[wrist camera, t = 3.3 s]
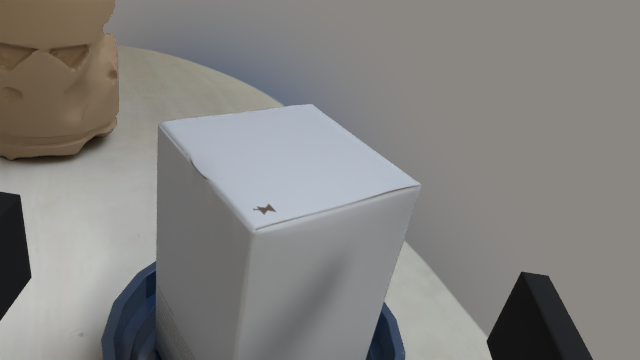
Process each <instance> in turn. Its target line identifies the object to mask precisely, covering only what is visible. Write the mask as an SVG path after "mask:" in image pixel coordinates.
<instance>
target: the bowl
mask: <svg viewBox="0 0 640 360" xmlns="http://www.w3.org/2000/svg"><path fill="white" fill-rule="evenodd" d="M155 328H156V261H155V262H154V263H152V264H151V265H149V266H148V267H146V268H145V269H143V270H142V271H140V272H139V273H138V274H137V275H136V276H135V277H134V278H133V279H132V281H131V282H130V283H129V284H128V286H127V287H126V288H125V289H124V290H123V292H122V293H121V294H120V295H119V296H118V298H117V299H116V300H115V301H114V303H113V306H112V309H111V312H110V315H109V318H108V321H107V324H106V327H105V330H104V333H103V336H102V339H101V346H102V360H162V359H161V357H160V355H159V353H158V351H157V349H156V347H155ZM366 360H405V350H404V346H403V343H402V339H401V335H400V332H399V328H398V325H397V321H396V319H395V317H394V316H393V314H392V313H391V311H390V310H389V308H388V307H387V305H386V304H385V302H384V303H383V306H382V309H381V312H380V315H379V318H378V322H377V325H376V328H375V331H374V334H373V337H372V341H371V344H370V347H369V350H368V353H367V356H366Z"/></svg>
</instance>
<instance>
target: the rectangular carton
mask: <svg viewBox="0 0 640 360" xmlns="http://www.w3.org/2000/svg"><path fill="white" fill-rule="evenodd" d="M420 189H421V184H420V183H418V182H417V181H415V180H414V179H412V178H411V177H410V176H408V175H407V174H405V173H404V172H403V171H401V170H400V169H399V168H397V167H396V166H395V165H393V164H392V163H391V162H389V161H388V160H386V159H385V158H384V157H382V156H381V155H380V154H378V153H377V152H375V151H374V150H373V149H371V148H370V147H368V146H367V145H366V144H365V143H363V142H362V141H360V140H359V139H358V138H356V137H355V136H354V135H352V134H351V133H350V132H348V131H347V130H345V129H344V128H343V127H341V126H340V125H339V124H337V123H336V122H335V121H333V120H332V119H331V118H329V117H328V116H327V115H325V114H324V113H323V112H321V111H320V110H319V109H317V108H316V107H315V106H314V105H312V104H308V105H294V106H287V107H279V108H273V109H266V110H258V111H250V112H242V113H233V114H223V115H213V116H203V117H194V118H185V119H178V120H171V121H164V122H162V123H160V124H159V125H158V157H157V250H156V328H155V347H156V349H157V351H158V353H159V355H160V357H161V359H162V360H366V356H367V353H368V350H369V347H370V344H371V341H372V337H373V334H374V331H375V328H376V325H377V322H378V318H379V315H380V312H381V309H382V306H383V303H384V300H385V297H386V293H387V290H388V287H389V284H390V281H391V278H392V275H393V272H394V269H395V265H396V262H397V259H398V256H399V253H400V250H401V247H402V244H403V241H404V238H405V235H406V232H407V229H408V225H409V222H410V219H411V216H412V213H413V210H414V207H415V204H416V201H417V198H418V195H419V192H420Z"/></svg>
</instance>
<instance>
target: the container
mask: <svg viewBox="0 0 640 360" xmlns="http://www.w3.org/2000/svg"><path fill="white" fill-rule="evenodd" d="M114 8H115V0H0V156H5V157H6V158H7V159H9V160H14V159H15V158H17V157H35V156H44V155H74V154H77V153H78V152H79V151H80V150H81V149H82V146H83V145H84V144H85V143H86V142H87V141H88V140H89V139H91V138H92V137H93V136H98V137H105V136H107V135H108V134H110V133H111V132H112V130H113V129H114V127H115V126H116V124H117V120H116V115H117V113H118V112H119V80H118V54H117V47H116V42H115V37H114V36H113V35H111V34H108V33H106V34H104V32H103V29H102V28H103V26H104V24H106V23H107V22H108V20H109V19H110V17H111V15H112V13H113V11H114Z"/></svg>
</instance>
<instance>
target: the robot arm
mask: <svg viewBox="0 0 640 360" xmlns="http://www.w3.org/2000/svg"><path fill="white" fill-rule="evenodd" d="M30 279H31V270H30V263H29V255H28V248H27V241H26V234H25V227H24V219H23V212H22V205H21V198H20V195H17V194H11V193H4V192H0V320H1V319H2V318H3V316H4V315H5V314H6V312H7V311H8V309H9V308H10V307H11V305H12V304H13V302H14V301H15V300H16V298H17V297H18V295H19V294H20V293H21V291H22V290H23V288H24V287H25V286H26V284H27V283H28V282H29V280H30ZM486 342H487V345H488V348H489V351H490V354H491V357H492V360H593V359H592V357H591V355H590V353H589V351H588V349H587V348H586V346H585V344H584V342H583V340H582V338H581V336H580V334H579V332H578V330H577V329H576V327H575V325H574V323H573V321H572V319H571V317H570V316H569V314H568V312H567V310H566V308H565V306H564V304H563V302H562V300H561V299H560V297H559V295H558V293H557V291H556V289H555V288H554V286H553V284H552V282H551V280H550V278H549V276H546V275H540V274H533V273H526V272H521V274H520V276H519V278H518V280H517V282H516V284H515V286H514V288H513V290H512V292H511V294H510V295H509V298H508V300H507V302H506V304H505V306H504V307H503V310H502V312H501V313H500V315H499V317H498V320H497V322H496V323H495V326H494V327H493V329H492V332H491V333H490V335H489V337H488V339H487V341H486Z"/></svg>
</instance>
